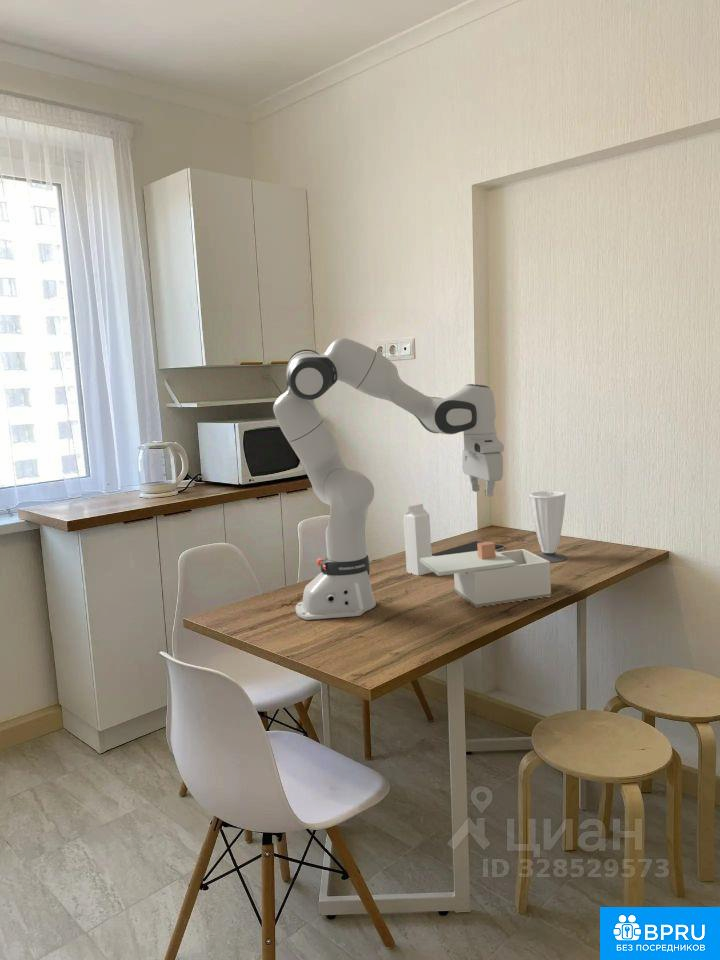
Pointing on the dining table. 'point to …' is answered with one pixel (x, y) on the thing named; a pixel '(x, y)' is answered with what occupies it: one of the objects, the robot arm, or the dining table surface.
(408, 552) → the milk
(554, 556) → the cup
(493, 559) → the lid
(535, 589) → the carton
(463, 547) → the smartphone
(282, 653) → the dining table surface
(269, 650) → the dining table surface
